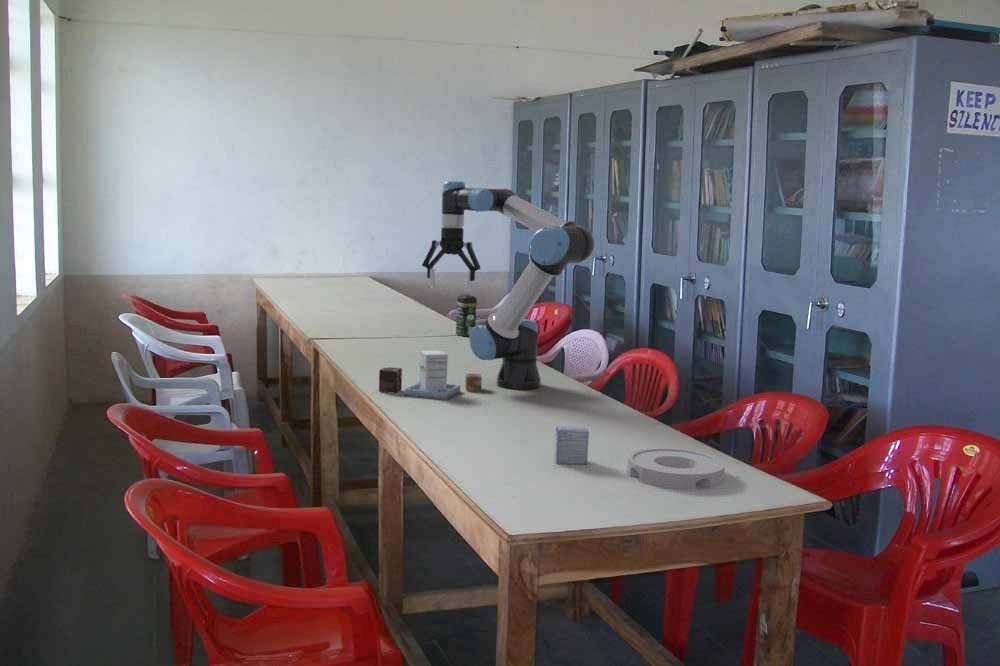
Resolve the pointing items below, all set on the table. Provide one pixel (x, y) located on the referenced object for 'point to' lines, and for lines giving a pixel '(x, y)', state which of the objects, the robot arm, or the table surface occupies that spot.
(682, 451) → the ashtray
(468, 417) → the table surface
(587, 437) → the medicine box
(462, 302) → the coffee jar
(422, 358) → the supplement box
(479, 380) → the walnut block
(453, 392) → the tray
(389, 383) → the box
